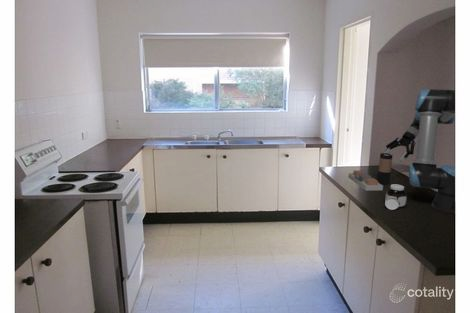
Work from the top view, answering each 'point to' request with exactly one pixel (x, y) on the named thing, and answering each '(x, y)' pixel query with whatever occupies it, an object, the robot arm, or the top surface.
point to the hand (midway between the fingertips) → (392, 158)
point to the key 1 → (358, 173)
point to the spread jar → (395, 197)
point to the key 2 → (371, 181)
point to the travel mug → (384, 168)
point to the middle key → (364, 176)
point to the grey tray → (364, 185)
